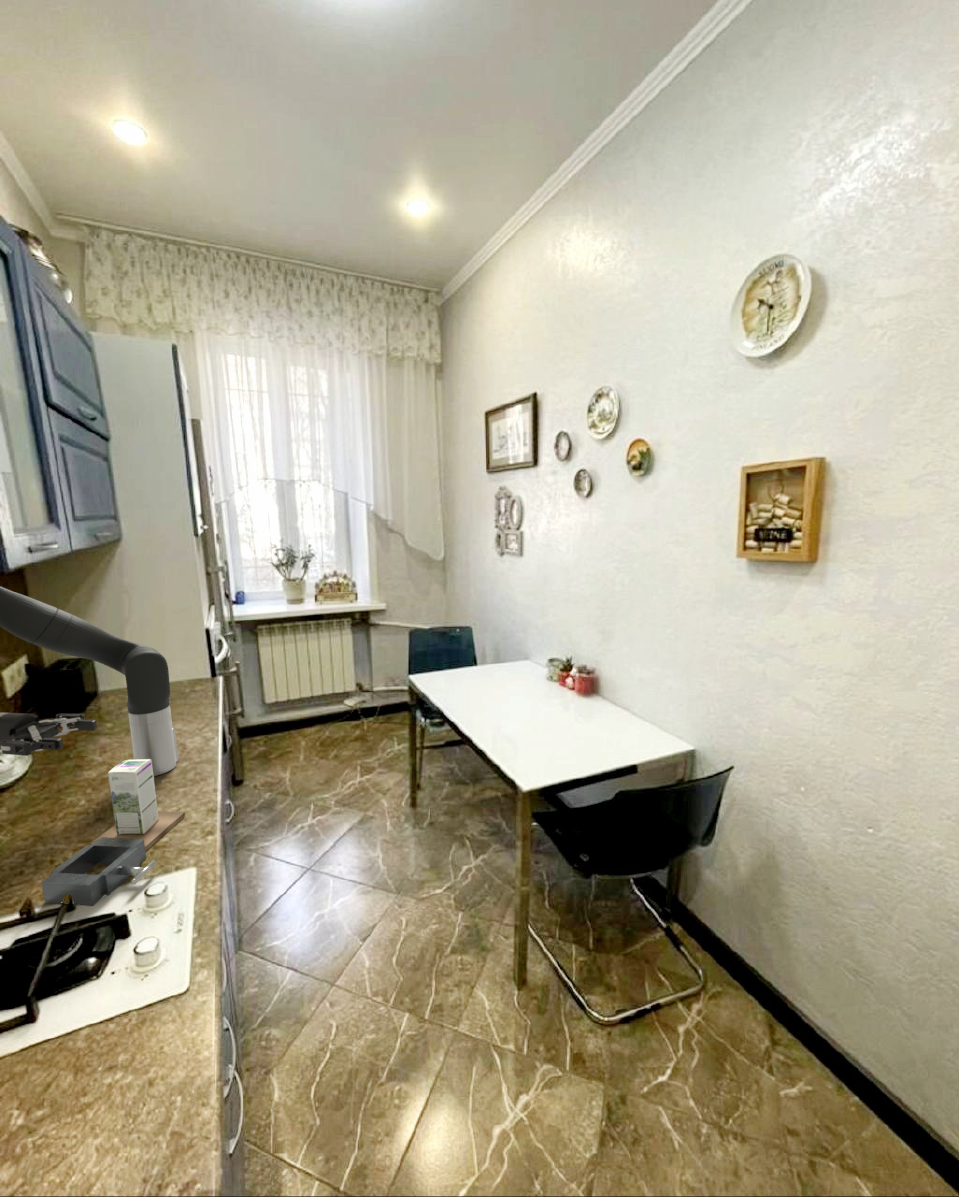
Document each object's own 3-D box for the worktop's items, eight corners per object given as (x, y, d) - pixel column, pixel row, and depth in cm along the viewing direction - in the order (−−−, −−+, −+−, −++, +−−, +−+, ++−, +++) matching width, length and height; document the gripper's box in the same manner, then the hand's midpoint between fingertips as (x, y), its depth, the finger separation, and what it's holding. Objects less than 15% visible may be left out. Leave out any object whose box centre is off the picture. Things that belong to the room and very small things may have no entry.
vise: (100, 855, 99) (97, 837, 99) (171, 858, 98) (169, 840, 97) (40, 903, 87) (37, 882, 86) (121, 907, 86) (118, 887, 85)
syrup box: (160, 819, 109) (152, 757, 107) (143, 835, 104) (135, 771, 101) (133, 819, 109) (126, 758, 107) (115, 836, 103) (106, 771, 101)
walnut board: (134, 814, 113) (134, 810, 113) (184, 816, 112) (184, 812, 112) (90, 848, 101) (89, 844, 101) (145, 851, 100) (145, 847, 100)
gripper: (-34, 729, 98) (46, 733, 97) (33, 701, 111) (103, 704, 111) (-27, 764, 99) (51, 768, 98) (38, 732, 113) (107, 735, 112)
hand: (79, 734), depth 105 cm, fingers open, 8 cm apart
